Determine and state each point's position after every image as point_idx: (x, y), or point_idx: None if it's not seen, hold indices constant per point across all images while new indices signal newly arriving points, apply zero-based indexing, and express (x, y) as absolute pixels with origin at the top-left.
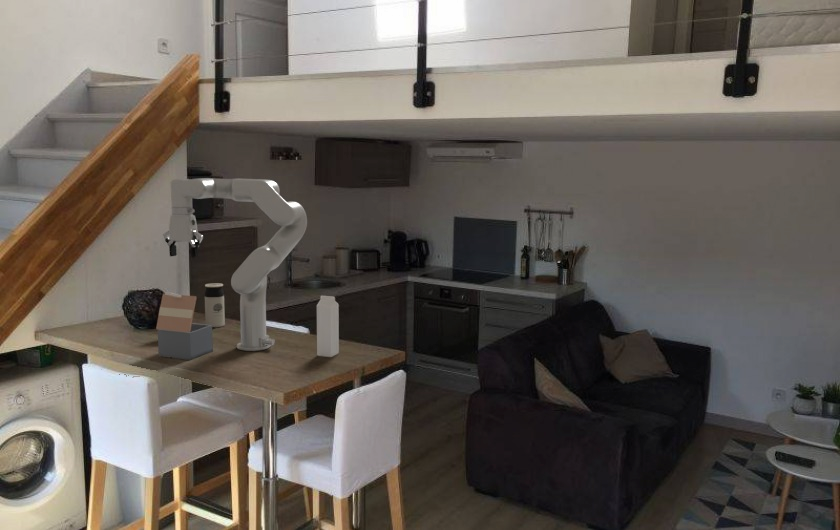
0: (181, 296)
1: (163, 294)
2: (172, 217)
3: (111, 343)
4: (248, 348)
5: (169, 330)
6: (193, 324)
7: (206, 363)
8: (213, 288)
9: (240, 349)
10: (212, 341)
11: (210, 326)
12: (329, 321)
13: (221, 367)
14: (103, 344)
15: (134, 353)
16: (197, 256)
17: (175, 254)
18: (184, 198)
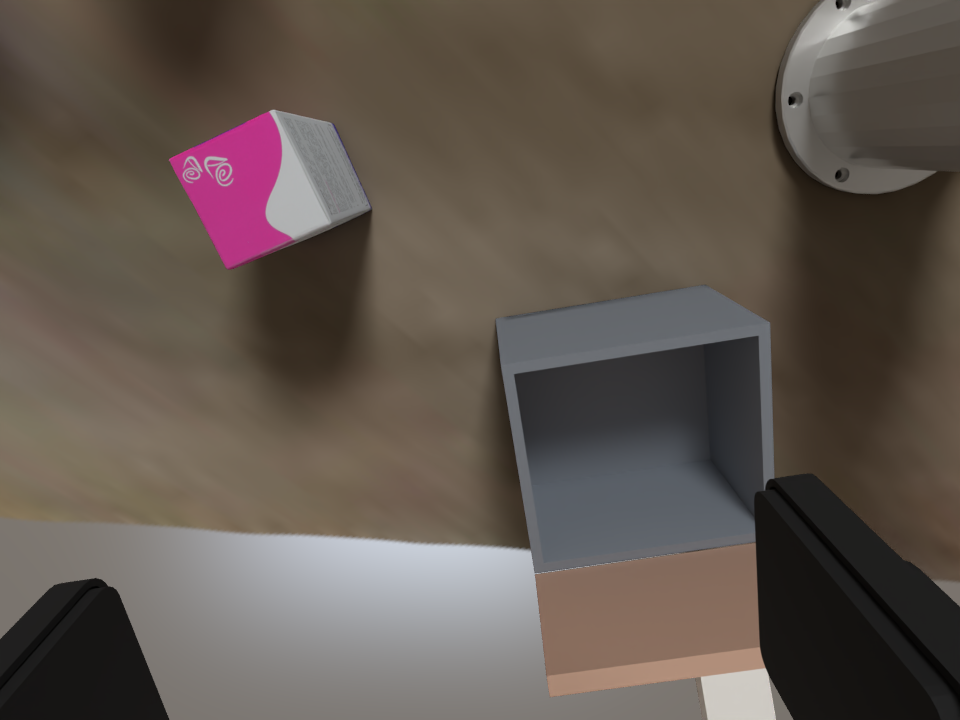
0: (762, 663)
1: (558, 692)
2: None
3: (104, 446)
4: (912, 184)
5: (624, 562)
6: (618, 356)
7: (823, 464)
8: None
9: (845, 191)
10: (725, 298)
11: (768, 340)
12: None
13: (930, 475)
14: (92, 478)
15: (380, 511)
16: (809, 485)
17: (114, 636)
18: None
